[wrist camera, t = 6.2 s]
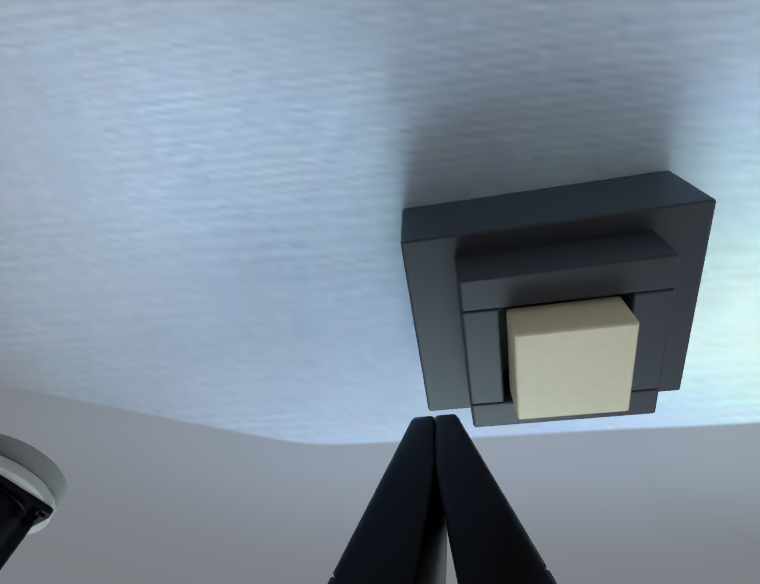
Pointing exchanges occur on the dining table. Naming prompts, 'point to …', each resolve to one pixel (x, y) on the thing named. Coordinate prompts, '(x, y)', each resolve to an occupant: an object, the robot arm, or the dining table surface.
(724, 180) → the dining table surface
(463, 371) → the charcoal button block
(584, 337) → the cream button
